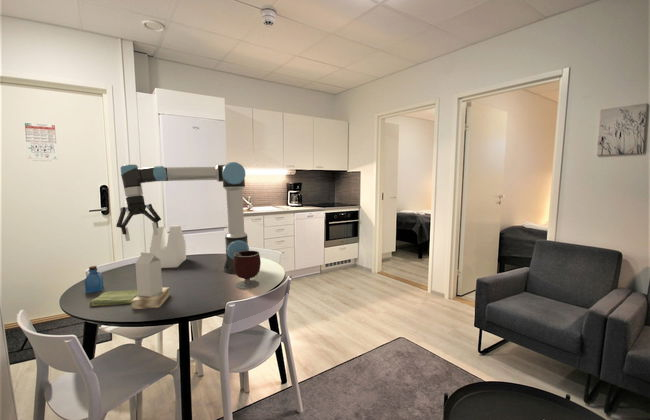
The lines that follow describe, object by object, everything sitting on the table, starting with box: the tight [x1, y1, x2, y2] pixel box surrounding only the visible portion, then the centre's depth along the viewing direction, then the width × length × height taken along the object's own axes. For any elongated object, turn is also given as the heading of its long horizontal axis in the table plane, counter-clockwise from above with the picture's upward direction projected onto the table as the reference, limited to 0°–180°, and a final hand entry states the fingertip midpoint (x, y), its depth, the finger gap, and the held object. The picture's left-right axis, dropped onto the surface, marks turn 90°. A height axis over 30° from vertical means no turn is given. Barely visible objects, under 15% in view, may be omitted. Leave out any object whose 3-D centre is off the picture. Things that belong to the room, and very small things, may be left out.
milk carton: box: [134, 252, 163, 297], centre depth 138 cm, size 7×7×19 cm
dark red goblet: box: [231, 250, 262, 290], centre depth 159 cm, size 16×14×20 cm
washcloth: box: [89, 289, 138, 307], centre depth 142 cm, size 13×18×3 cm
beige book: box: [131, 286, 171, 310], centre depth 139 cm, size 11×14×4 cm
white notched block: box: [149, 225, 187, 269], centre depth 200 cm, size 19×15×25 cm
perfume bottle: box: [84, 265, 104, 294], centre depth 153 cm, size 6×6×12 cm
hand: (142, 237), depth 153 cm, fingers open, 13 cm apart
